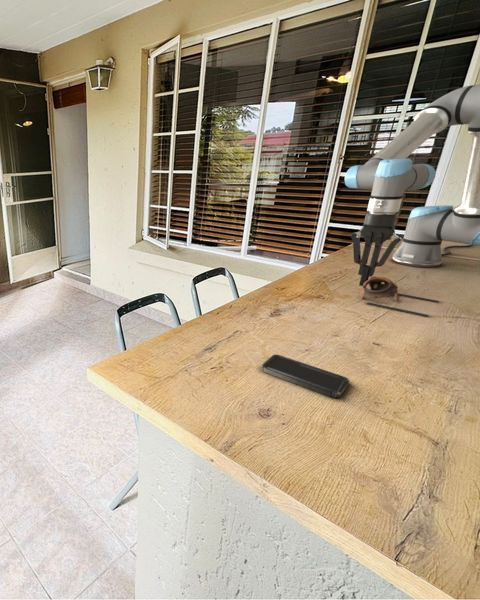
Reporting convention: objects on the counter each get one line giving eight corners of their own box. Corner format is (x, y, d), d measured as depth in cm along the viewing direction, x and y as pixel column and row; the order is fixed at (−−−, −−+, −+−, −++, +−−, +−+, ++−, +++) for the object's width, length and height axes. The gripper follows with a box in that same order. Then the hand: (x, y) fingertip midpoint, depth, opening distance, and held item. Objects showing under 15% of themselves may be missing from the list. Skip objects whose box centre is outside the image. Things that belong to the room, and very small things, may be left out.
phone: (339, 395, 68) (260, 366, 79) (338, 400, 68) (259, 370, 79) (351, 378, 73) (275, 353, 83) (349, 383, 73) (274, 357, 84)
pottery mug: (407, 306, 108) (403, 286, 104) (370, 316, 112) (365, 297, 109) (387, 284, 117) (383, 265, 114) (354, 294, 121) (349, 276, 118)
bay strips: (381, 291, 119) (382, 290, 119) (438, 301, 109) (438, 300, 108) (366, 304, 110) (366, 303, 110) (427, 317, 99) (427, 316, 99)
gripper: (352, 212, 110) (336, 283, 119) (406, 216, 100) (384, 292, 109) (360, 209, 114) (344, 278, 123) (412, 212, 105) (391, 286, 113)
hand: (362, 284), depth 116 cm, fingers closed
